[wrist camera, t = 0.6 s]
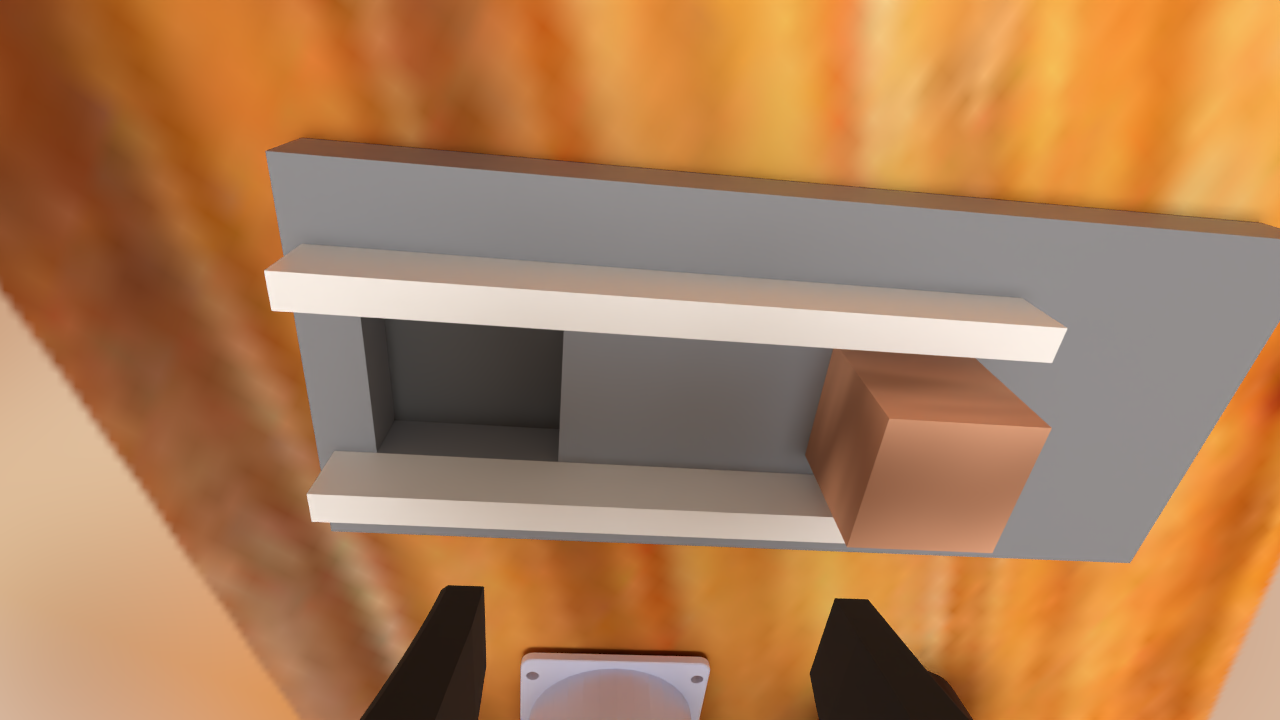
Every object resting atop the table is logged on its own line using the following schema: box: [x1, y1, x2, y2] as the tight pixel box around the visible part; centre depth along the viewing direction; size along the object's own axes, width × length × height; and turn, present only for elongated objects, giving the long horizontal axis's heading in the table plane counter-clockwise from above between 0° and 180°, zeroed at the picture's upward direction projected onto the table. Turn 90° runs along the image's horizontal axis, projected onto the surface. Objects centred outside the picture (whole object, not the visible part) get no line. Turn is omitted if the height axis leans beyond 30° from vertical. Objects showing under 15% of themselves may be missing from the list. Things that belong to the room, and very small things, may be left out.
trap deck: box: [266, 138, 1280, 563], centre depth 20 cm, size 12×28×2 cm, turn 85°
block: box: [805, 348, 1052, 553], centre depth 18 cm, size 4×4×4 cm
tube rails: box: [264, 244, 1068, 544], centre depth 18 cm, size 8×20×2 cm, turn 85°
